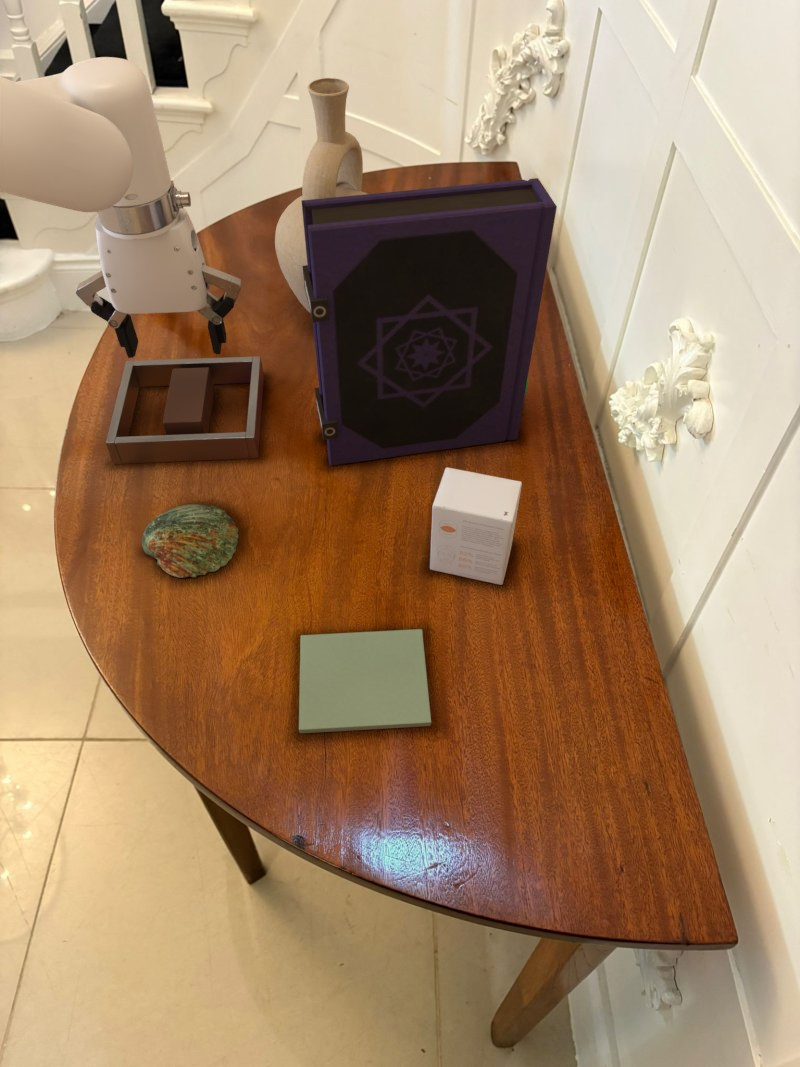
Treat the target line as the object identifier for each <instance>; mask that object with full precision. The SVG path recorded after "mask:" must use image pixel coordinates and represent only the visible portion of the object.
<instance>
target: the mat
mask: <svg viewBox="0 0 800 1067" xmlns="http://www.w3.org/2000/svg"><path fill="white" fill-rule="evenodd" d="M299 642H300V645H299V646H300V648H299V649H300V650H299V652H300V653H299V694H298V695H299V698H298V699H299V700H298V702H299V703H298V732H299V734H314V733H315V734H316V733H331V732H351V731H364V730H365V731H367V730H382V729H399V728H400V729H401V728H419V727H431V726H432V715H431V705H430V696H429V695H430V694H429V684H428V675H427V664H426V656H425V655H426V653H425V645H424V633H423V629H422V628H417V629H415V628H414V629H397V630H378V631H377V630H376V631H358V632H339V633H320V634H319V633H318V634H301V635H300V640H299Z"/></svg>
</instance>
